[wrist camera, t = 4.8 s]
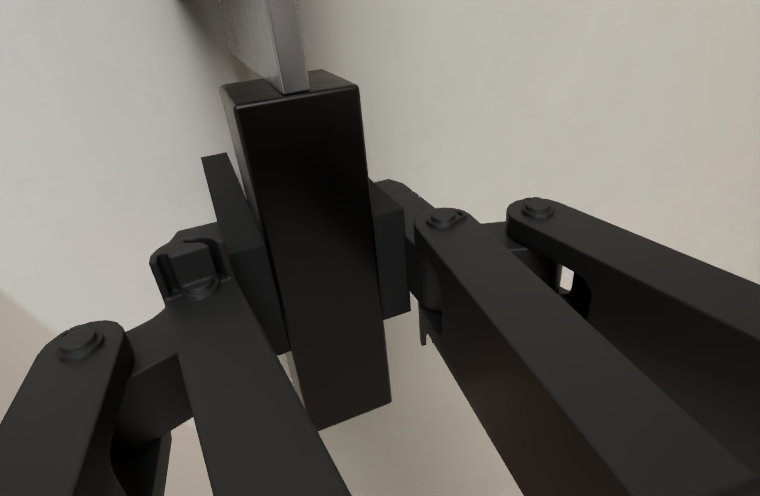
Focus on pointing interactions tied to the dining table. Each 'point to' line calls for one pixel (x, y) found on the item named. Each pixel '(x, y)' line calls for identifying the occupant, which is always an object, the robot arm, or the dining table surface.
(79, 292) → the dining table surface
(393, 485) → the dining table surface
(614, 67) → the dining table surface
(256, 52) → the cake knife
